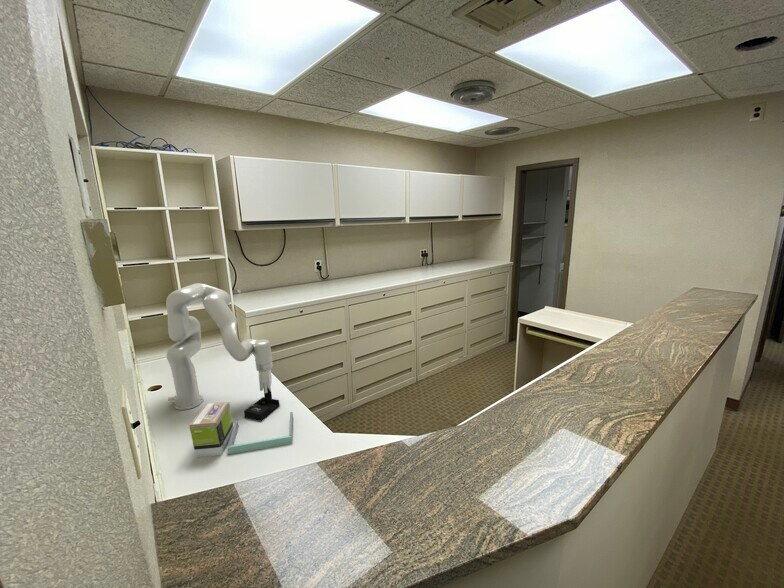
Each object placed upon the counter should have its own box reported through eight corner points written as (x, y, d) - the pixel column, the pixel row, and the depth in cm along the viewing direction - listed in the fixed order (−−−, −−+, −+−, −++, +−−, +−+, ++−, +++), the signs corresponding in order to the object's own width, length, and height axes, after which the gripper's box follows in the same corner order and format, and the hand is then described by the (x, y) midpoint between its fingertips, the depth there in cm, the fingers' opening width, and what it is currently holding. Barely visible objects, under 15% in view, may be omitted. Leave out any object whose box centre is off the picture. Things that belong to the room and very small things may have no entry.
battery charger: (261, 422, 158) (260, 414, 157) (244, 418, 161) (243, 410, 160) (280, 407, 170) (279, 399, 169) (263, 404, 173) (262, 396, 172)
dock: (228, 454, 137) (227, 447, 136) (236, 426, 154) (235, 420, 154) (292, 443, 143) (291, 436, 142) (293, 417, 160) (292, 411, 159)
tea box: (210, 434, 150) (205, 402, 147) (235, 432, 151) (230, 400, 147) (194, 458, 136) (188, 424, 132) (221, 455, 136) (216, 421, 133)
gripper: (257, 360, 176) (261, 393, 180) (254, 373, 162) (259, 408, 166) (273, 358, 178) (277, 391, 182) (271, 370, 164) (275, 406, 168)
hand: (268, 399), depth 174 cm, fingers closed
